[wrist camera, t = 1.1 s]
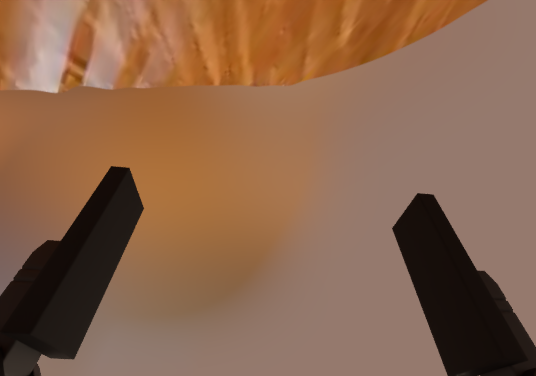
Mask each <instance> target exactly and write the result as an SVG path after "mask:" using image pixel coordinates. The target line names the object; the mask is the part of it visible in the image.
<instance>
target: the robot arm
mask: <svg viewBox="0 0 536 376" xmlns="http://www.w3.org/2000/svg"><path fill="white" fill-rule="evenodd" d="M143 209H144V207H143V205H142V202H141V199H140V197H139V193H138V191H137V188H136V185H135V182H134V180H133V177H132V174H131V171H130V168H125V167H113V166H111V168H110V169H109V171H108V172H107V173H106V175H105V176H104V178H103V179H102V181H101V182H100V184H99V185H98V187H97V188H96V190H95V191H94V193H93V194H92V196H91V197H90V199H89V200H88V202H87V203H86V205H85V206H84V208H83V209H82V210H81V212H80V214H79V215H78V217H77V218H76V219H75V221H74V222H73V224H72V225H71V227H70V228H69V230H68V231H67V233H66V234H65V236H64V237H63V239H62V240H61V241H53V240H47V241H46V242H45V243H44V244H42V245H41V246H40V247H39V248H37V249H36V250H35V251H34V252H32V254H31V255H30V257H29V258H28V259H27V261H26V262H25V263H24V265H23V266H22V269H20V270H19V271H18V273H17V274H16V276H15V277H14V280H13V281H11V282H10V284H9V285H8V286H7V288H6V289H5V290H4V292H3V293H2V294H1V296H0V376H41V373H40V368H39V366H38V364H37V362H38V360H39V358H40V356H41V354H43V355H45V356H47V357H49V358H58V359H74V358H75V356H76V354H77V351H78V350H79V348H80V345H81V343H82V341H83V339H84V337H85V335H86V332H87V330H88V328H89V326H90V324H91V322H92V319H93V317H94V315H95V313H96V310H97V309H98V306H99V304H100V302H101V300H102V298H103V295H104V294H105V291H106V289H107V287H108V285H109V283H110V280H111V278H112V276H113V274H114V272H115V270H116V268H117V265H118V263H119V261H120V259H121V257H122V255H123V252H124V250H125V248H126V246H127V244H128V242H129V239H130V237H131V235H132V233H133V231H134V229H135V226H136V224H137V222H138V220H139V218H140V216H141V213H142V211H143ZM392 229H393V232H394V234H395V237H396V240H397V242H398V245H399V248H400V251H401V253H402V256H403V259H404V261H405V264H406V266H407V269H408V272H409V274H410V277H411V280H412V282H413V285H414V287H415V290H416V293H417V296H418V298H419V301H420V304H421V306H422V308H423V311H424V314H425V317H426V319H427V322H428V325H429V327H430V330H431V333H432V335H433V338H434V341H435V343H436V346H437V348H438V351H439V354H440V356H441V359H442V362H443V364H444V367H445V369H446V372H447V375H448V376H479V375H480V376H536V347H535V345H534V343H533V342H532V340H531V338H530V337H529V335H528V334H527V332H526V331H525V329H524V327H523V325H522V324H521V322H520V321H519V319H518V317H517V316H516V314H515V313H513V309H512V307H511V306H510V304H509V303H508V301H506V298H505V296H504V294H503V293H502V291H501V289H500V288H499V286H498V284H497V283H496V282H495V281H494V280H493V279H492V278H491V277H490V276H489V275H488V274H487V273H486V272H485V271H477V270H476V268H475V266H474V264H473V263H472V261H471V259H470V258H469V256H468V254H467V252H466V250H465V249H464V247H463V245H462V244H461V242H460V240H459V238H458V237H457V235H456V233H455V231H454V230H453V228H452V226H451V225H450V223H449V221H448V219H447V218H446V216H445V214H444V212H443V211H442V209H441V207H440V205H439V204H438V202H437V200H436V198H435V197H434V195H431V194H420V193H418V194H417V195H416V196H415V198H414V199H413V200H412V202H411V203H410V205H409V206H408V207H407V209H406V210H405V211H404V213H403V214H402V216H401V217H400V218H399V220H398V221H397V222H396V224H395V225H394V226H393V228H392Z"/></svg>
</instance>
